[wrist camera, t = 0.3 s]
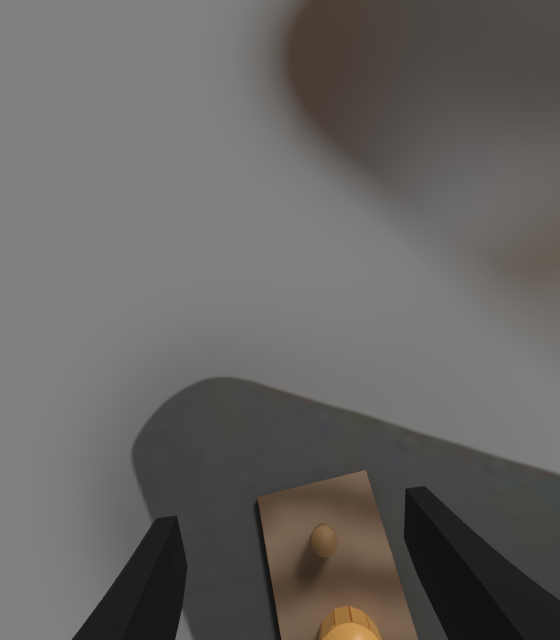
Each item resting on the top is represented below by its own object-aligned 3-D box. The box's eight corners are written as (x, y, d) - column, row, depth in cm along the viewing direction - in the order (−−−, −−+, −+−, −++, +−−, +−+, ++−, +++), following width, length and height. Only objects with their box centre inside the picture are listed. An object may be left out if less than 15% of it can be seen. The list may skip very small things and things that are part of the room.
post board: (432, 692, 30) (449, 724, 26) (297, 725, 30) (293, 762, 26) (364, 470, 38) (369, 468, 34) (259, 496, 38) (251, 497, 34)
